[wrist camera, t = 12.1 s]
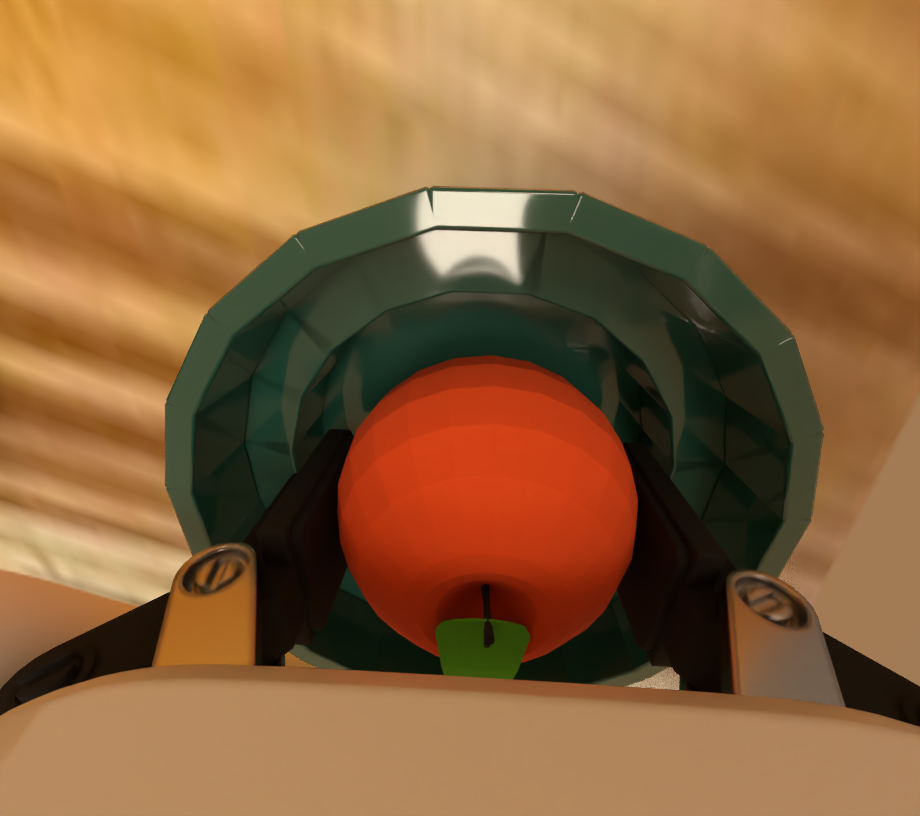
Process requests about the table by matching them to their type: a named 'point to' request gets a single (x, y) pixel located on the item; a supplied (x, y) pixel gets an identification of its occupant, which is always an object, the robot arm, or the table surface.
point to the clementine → (487, 512)
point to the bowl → (506, 335)
